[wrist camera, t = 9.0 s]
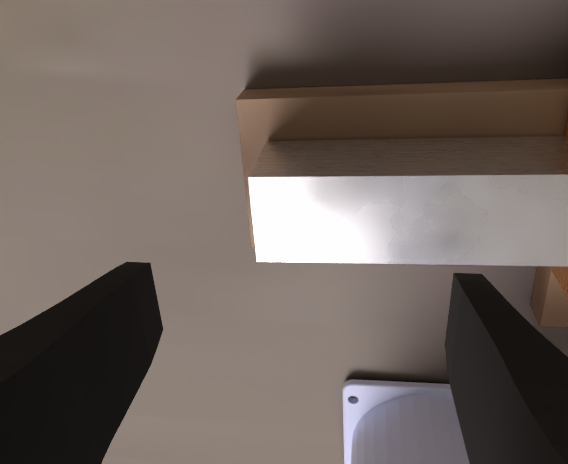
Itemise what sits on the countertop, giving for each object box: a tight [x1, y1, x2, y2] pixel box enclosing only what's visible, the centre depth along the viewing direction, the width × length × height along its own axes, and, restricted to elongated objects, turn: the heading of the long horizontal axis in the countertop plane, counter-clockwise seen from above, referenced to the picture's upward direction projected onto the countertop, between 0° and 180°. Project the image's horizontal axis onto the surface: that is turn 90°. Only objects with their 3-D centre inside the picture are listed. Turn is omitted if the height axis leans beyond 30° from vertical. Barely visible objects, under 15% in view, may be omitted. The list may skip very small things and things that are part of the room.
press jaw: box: [248, 113, 568, 299], centre depth 17 cm, size 6×12×3 cm, turn 94°
